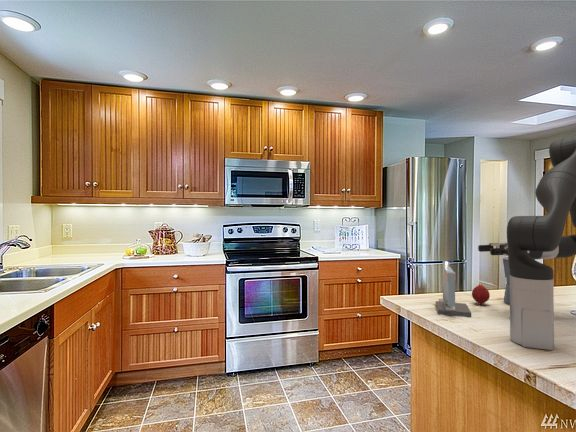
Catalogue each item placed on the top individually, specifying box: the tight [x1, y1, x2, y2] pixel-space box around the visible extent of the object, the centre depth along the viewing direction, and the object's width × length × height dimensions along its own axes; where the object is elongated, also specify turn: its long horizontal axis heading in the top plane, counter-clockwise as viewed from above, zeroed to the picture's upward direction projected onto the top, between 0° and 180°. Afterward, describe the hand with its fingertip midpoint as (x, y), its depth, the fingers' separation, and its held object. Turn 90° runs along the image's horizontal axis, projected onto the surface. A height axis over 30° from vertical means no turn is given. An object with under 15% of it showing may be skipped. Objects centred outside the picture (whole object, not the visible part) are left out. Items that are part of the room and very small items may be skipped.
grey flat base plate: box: [435, 300, 472, 318], centre depth 114 cm, size 12×10×2 cm
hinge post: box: [438, 260, 451, 302], centre depth 124 cm, size 5×5×16 cm
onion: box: [471, 282, 491, 305], centre depth 122 cm, size 6×6×8 cm
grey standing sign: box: [444, 266, 457, 307], centre depth 114 cm, size 16×3×11 cm, turn 159°
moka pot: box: [502, 256, 510, 306], centre depth 123 cm, size 10×15×20 cm, turn 161°
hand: (484, 250), depth 109 cm, fingers open, 8 cm apart
